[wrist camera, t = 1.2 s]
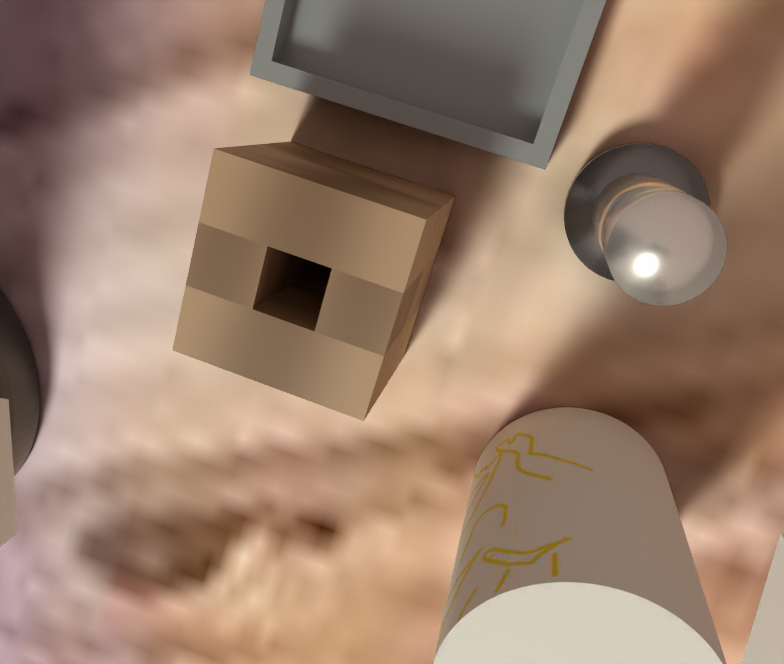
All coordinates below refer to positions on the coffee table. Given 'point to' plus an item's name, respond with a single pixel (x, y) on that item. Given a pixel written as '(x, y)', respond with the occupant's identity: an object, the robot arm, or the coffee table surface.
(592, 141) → the coffee table surface
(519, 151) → the tray
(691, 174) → the post
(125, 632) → the coffee table surface
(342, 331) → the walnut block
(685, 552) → the cup
